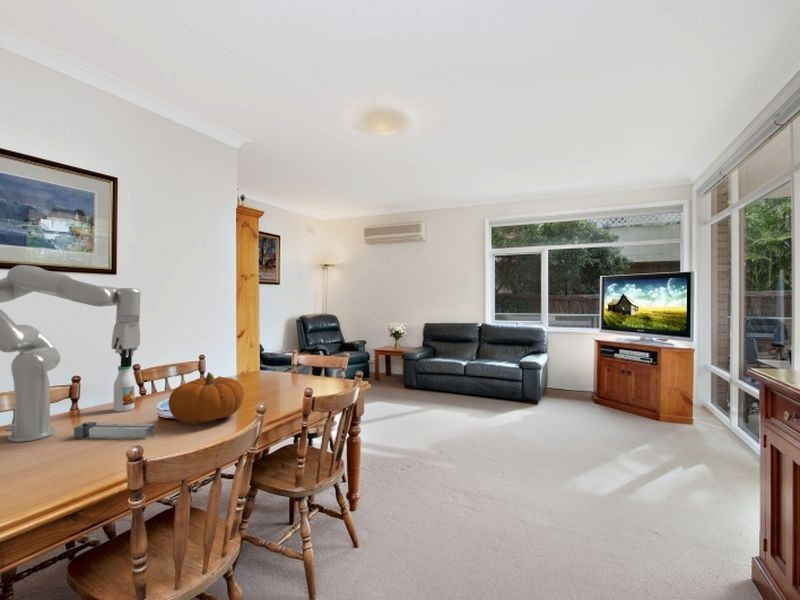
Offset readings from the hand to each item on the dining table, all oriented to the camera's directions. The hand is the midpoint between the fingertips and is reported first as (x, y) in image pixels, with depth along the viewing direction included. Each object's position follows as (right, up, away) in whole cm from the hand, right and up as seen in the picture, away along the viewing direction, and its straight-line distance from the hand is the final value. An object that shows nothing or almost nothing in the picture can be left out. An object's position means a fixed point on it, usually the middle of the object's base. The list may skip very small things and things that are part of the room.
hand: (126, 366), depth 155 cm
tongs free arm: (+5, -24, -7) cm, 25 cm away
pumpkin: (+26, -24, +12) cm, 38 cm away
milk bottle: (-18, -24, +25) cm, 38 cm away
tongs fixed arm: (+2, -24, -8) cm, 26 cm away
